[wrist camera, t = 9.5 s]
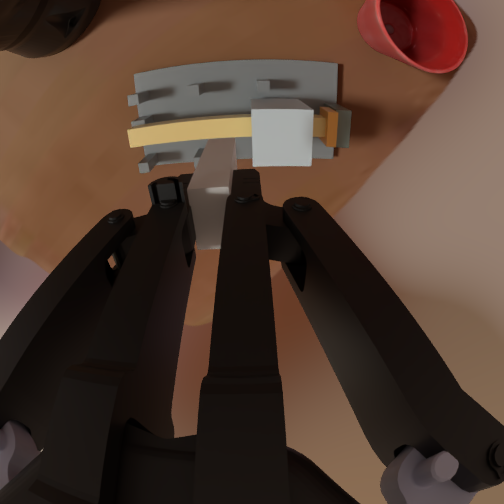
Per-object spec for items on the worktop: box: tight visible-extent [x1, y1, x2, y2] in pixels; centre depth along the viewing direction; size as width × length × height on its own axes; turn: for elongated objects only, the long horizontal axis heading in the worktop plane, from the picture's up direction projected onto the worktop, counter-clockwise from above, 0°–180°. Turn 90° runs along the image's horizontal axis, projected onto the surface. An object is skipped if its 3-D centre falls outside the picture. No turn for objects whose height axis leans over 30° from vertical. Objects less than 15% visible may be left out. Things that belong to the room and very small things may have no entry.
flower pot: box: [357, 0, 468, 74], centre depth 19 cm, size 11×11×10 cm
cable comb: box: [128, 60, 352, 173], centre depth 27 cm, size 12×23×7 cm, turn 92°
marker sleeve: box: [251, 98, 314, 166], centre depth 25 cm, size 5×5×8 cm
